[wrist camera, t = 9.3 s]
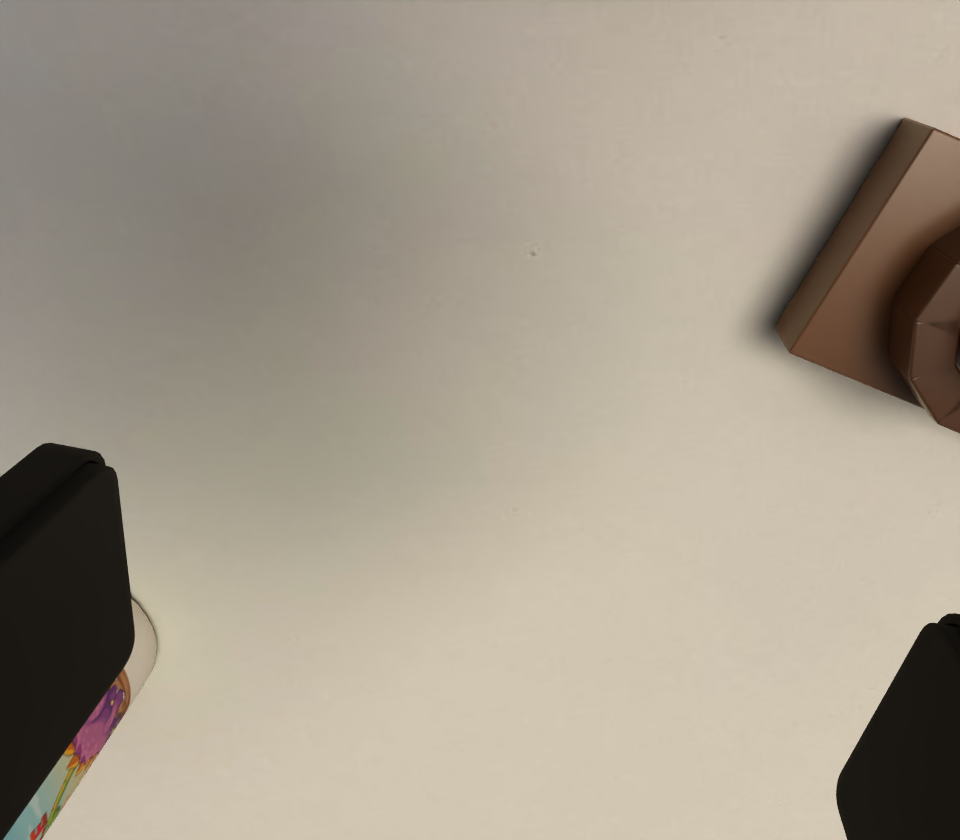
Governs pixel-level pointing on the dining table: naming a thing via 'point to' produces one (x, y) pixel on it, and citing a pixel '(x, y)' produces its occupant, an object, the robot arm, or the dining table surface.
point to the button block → (892, 280)
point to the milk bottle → (89, 737)
